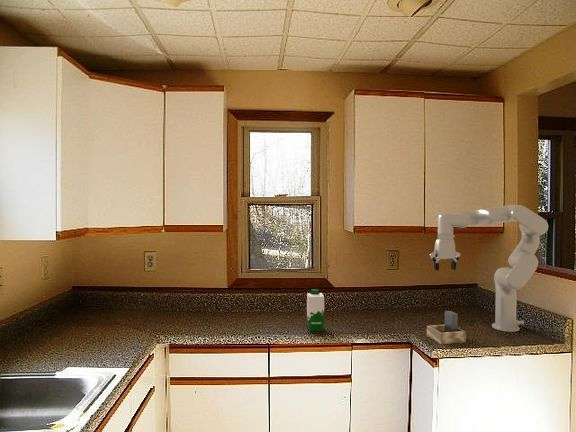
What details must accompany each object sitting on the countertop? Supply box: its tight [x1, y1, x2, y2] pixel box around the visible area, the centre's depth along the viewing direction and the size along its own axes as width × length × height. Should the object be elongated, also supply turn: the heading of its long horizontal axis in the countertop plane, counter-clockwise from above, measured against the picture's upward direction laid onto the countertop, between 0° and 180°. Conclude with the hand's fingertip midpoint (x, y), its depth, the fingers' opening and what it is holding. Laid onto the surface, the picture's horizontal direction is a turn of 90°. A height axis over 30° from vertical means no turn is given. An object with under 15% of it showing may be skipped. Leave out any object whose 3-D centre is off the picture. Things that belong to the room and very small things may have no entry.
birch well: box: [426, 324, 467, 345], centre depth 191 cm, size 13×12×5 cm
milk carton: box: [306, 288, 325, 332], centre depth 206 cm, size 9×9×20 cm
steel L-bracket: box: [444, 310, 459, 333], centre depth 191 cm, size 8×6×12 cm
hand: (445, 269), depth 208 cm, fingers open, 9 cm apart
